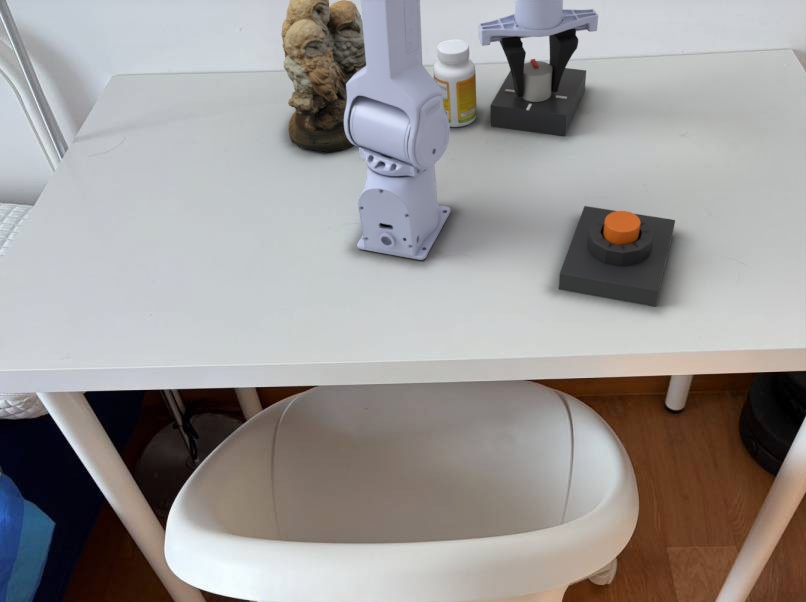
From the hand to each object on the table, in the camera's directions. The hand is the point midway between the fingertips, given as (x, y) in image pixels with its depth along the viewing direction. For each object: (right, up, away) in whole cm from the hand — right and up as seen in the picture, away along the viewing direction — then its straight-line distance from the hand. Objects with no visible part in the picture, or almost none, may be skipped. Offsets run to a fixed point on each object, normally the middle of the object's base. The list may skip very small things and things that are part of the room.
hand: (536, 90), depth 102 cm
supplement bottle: (-10, -3, +3) cm, 11 cm away
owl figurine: (-26, -3, +4) cm, 27 cm away
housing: (+7, -25, -18) cm, 32 cm away
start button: (+7, -23, -21) cm, 31 cm away
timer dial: (0, 0, 0) cm, 0 cm away
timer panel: (+1, -1, +4) cm, 4 cm away
